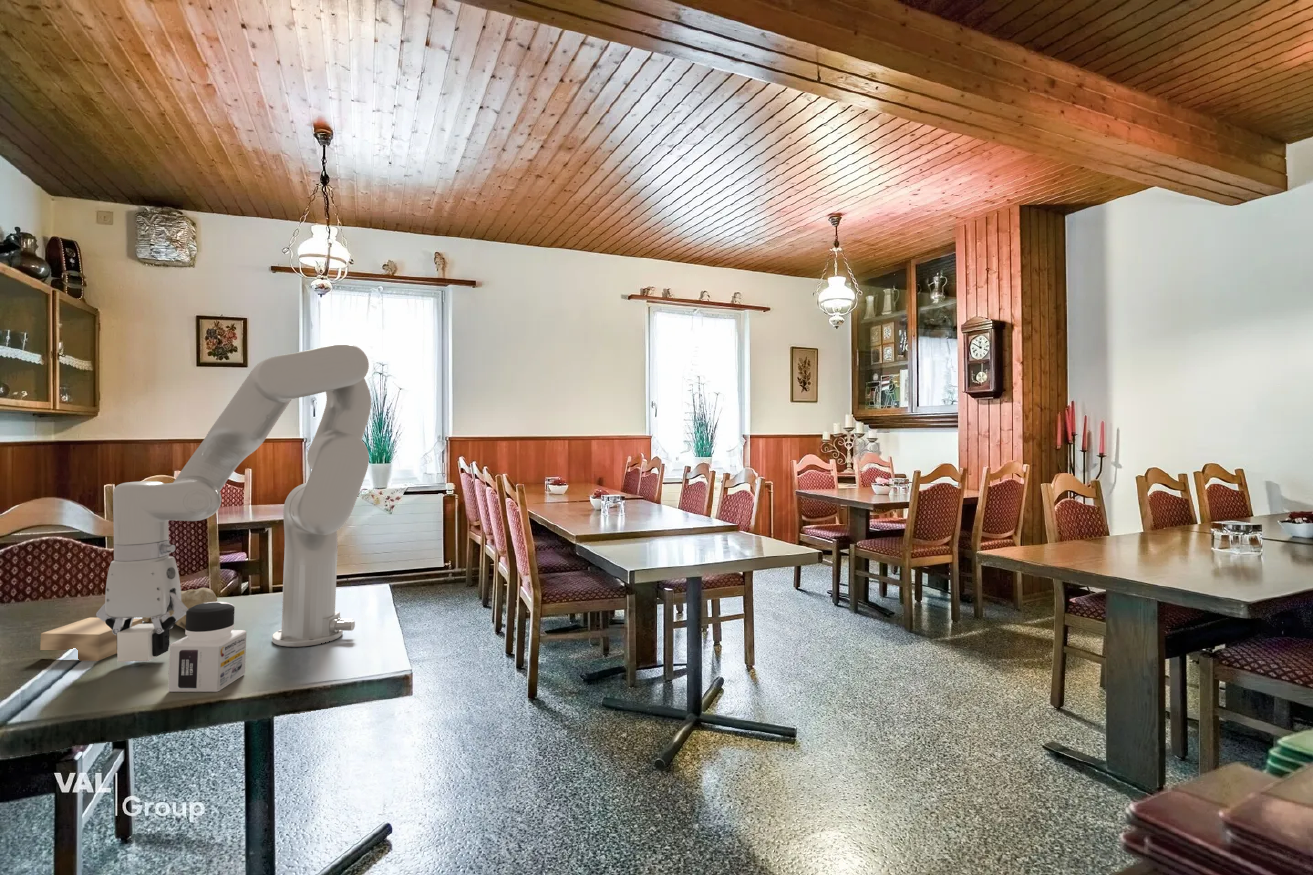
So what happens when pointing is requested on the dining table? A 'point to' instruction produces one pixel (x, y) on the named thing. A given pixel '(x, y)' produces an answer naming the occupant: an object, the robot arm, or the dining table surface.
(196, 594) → the sculpture
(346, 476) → the robot arm
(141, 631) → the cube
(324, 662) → the dining table surface
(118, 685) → the dining table surface
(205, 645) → the container
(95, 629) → the oak block
